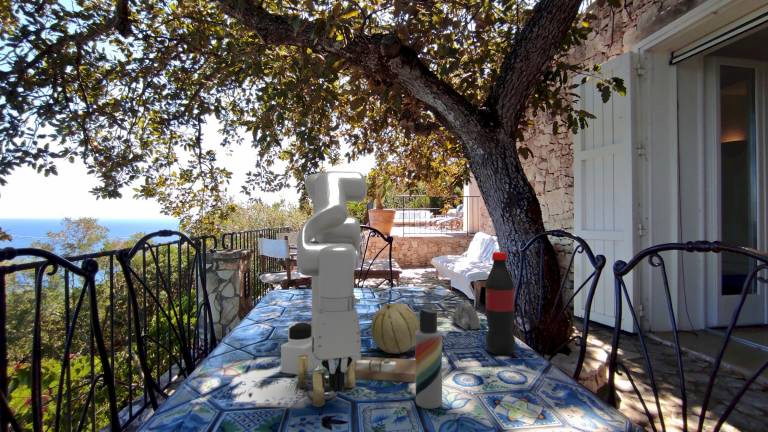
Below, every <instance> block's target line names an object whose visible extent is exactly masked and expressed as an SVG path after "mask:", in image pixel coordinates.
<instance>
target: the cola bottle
mask: <svg viewBox="0 0 768 432" xmlns="http://www.w3.org/2000/svg"><path fill="white" fill-rule="evenodd" d="M491 260H492V261H493V263H492V267H491V270H490V272H489V274H488V276H487V278H486V282H485V285H484V286H485V287H484V288H485V316H486V322H487V333H486V336H485V346H486V349H487V350H488V352H489V353H491V354H493V355H496V356H509V355H511V354H513V353H514V351H515V348H516V338H515V336H514V333H513V326H514V323H515V322H514V321H515V315H516V314H515V313H516V312H515V310H516V309H515V283H514V281H513V278H512V276H511V274H510V272H509V270H508V267H507V263H506V261H508V259H507V253H506V252H505V251H504V252H503V251H495V252H492V259H491Z"/></svg>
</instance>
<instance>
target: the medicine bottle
mask: <svg viewBox="0 0 768 432" xmlns="http://www.w3.org/2000/svg"><path fill="white" fill-rule="evenodd" d="M311 341H312V338H311V325H310V324H308V323H301V322H295V323H292V324H290V325H289V326H288V328H287V341H286V342H285V343H283V344H282V345H281V346H280V372H281V373H282V374H283V373H284V374H289V375H290V374H291V375H297V376H298V356H300V355H307V356H308V373H309V374H310V372H312V371H313V370H315V369H316V368H318V366H315V365H313V364H312V362H311V360H312V356H313V353H312V350H311Z"/></svg>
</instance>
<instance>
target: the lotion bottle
mask: <svg viewBox="0 0 768 432" xmlns="http://www.w3.org/2000/svg"><path fill="white" fill-rule="evenodd" d="M418 313H419V315H418V316H419V324H420V330H418V331H416V332H415V345H414V346H415V347H414V349H415V350H414V353H415V354H414V355H415V357H414V360H415V382H414V383H415V388H414V389H415V403H416V405H417V406H418V407H420V408H422V409H430V410H431V409H434V410H435V409H438V408H440V407H441V405H442V404H443V346H442V345H443V335H442V332H441V331H440V330H438V312H437V311H435V310H433V309H431V308H430V309H429V308H421V309H420V311H419V312H418Z"/></svg>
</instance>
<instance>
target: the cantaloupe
mask: <svg viewBox="0 0 768 432" xmlns="http://www.w3.org/2000/svg"><path fill="white" fill-rule="evenodd" d="M370 323H371V324H370V333H371V337H372V341H373V342H374V343H375V345H376V346H377V347H378V348H379V349H380V350H381V351H383V352H385V353H388V354H393V355H394V354H395V355H397V354H402V353H405V352H407V351H409V350H411V348H413V347H414V346H415V332H416V331H418V330H420V319H418V316H417V314H416V313H415V312H414V310H413V309H411V308H410V307H409V306H407V305H406V304H402V303H398V302H392V303H388V304H385V305H384V306H382V307H380V308H379V309H378V310H376V312H375V313H374V314H373V318H372V319H371V322H370Z"/></svg>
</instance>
